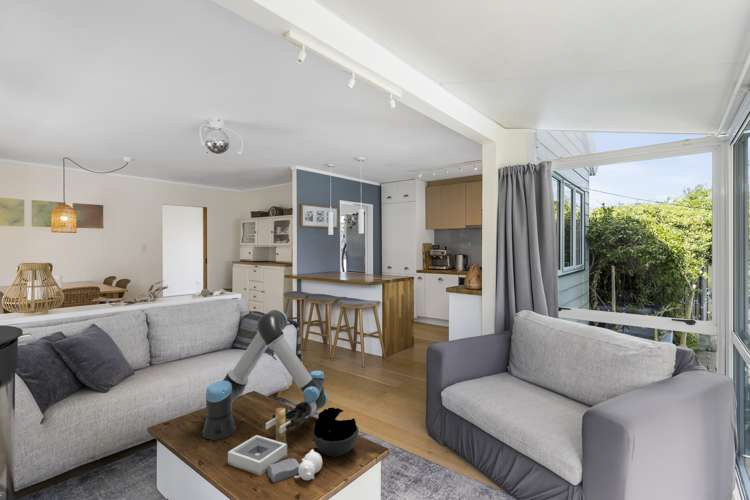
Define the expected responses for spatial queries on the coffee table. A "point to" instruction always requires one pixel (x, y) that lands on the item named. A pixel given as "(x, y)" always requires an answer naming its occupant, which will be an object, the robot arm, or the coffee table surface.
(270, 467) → the stone block
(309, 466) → the cat figurine
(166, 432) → the coffee table surface
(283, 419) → the peg
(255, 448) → the hole box
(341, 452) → the coal bowl
